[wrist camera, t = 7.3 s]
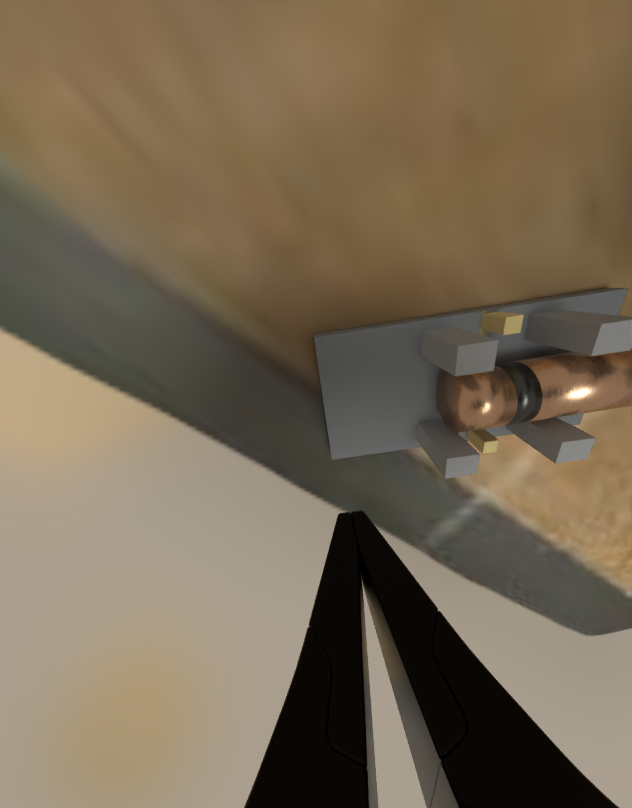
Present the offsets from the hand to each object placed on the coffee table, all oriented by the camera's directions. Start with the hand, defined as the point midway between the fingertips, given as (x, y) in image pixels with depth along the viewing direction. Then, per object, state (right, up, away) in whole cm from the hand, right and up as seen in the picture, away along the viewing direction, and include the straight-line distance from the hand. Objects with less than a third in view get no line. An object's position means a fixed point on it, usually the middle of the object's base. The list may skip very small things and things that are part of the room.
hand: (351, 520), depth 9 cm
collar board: (+9, +6, +11) cm, 15 cm away
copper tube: (+13, +6, +10) cm, 18 cm away
